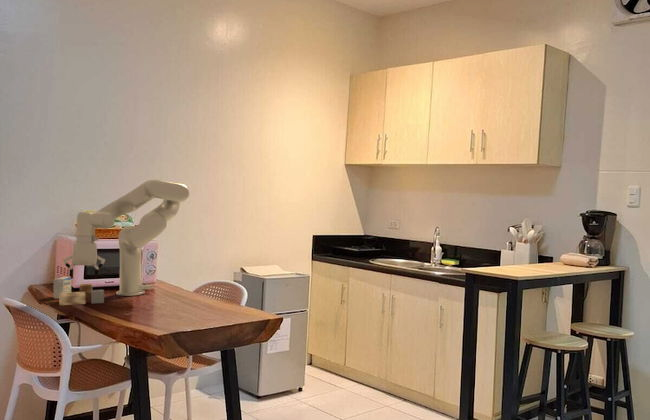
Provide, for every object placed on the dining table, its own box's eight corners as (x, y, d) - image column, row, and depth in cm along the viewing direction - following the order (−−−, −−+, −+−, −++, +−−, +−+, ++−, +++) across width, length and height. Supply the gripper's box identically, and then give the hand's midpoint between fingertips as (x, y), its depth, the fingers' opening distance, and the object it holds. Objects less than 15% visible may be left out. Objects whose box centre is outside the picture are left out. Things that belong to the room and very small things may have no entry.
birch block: (85, 300, 254) (85, 291, 254) (85, 304, 245) (85, 295, 245) (59, 302, 250) (59, 292, 250) (59, 306, 241) (59, 296, 241)
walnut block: (92, 296, 262) (92, 283, 262) (91, 298, 258) (91, 285, 257) (80, 297, 260) (80, 284, 260) (79, 299, 256) (79, 285, 256)
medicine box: (63, 298, 256) (63, 279, 256) (53, 298, 256) (53, 279, 256) (71, 295, 264) (71, 276, 264) (61, 295, 264) (61, 276, 264)
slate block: (103, 301, 253) (104, 289, 253) (103, 303, 248) (103, 291, 248) (91, 301, 251) (91, 290, 251) (91, 303, 246) (91, 291, 246)
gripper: (106, 239, 265) (104, 277, 265) (64, 238, 259) (62, 277, 259) (106, 240, 258) (104, 279, 258) (63, 239, 252) (61, 279, 252)
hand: (83, 278), depth 258 cm, fingers open, 9 cm apart
